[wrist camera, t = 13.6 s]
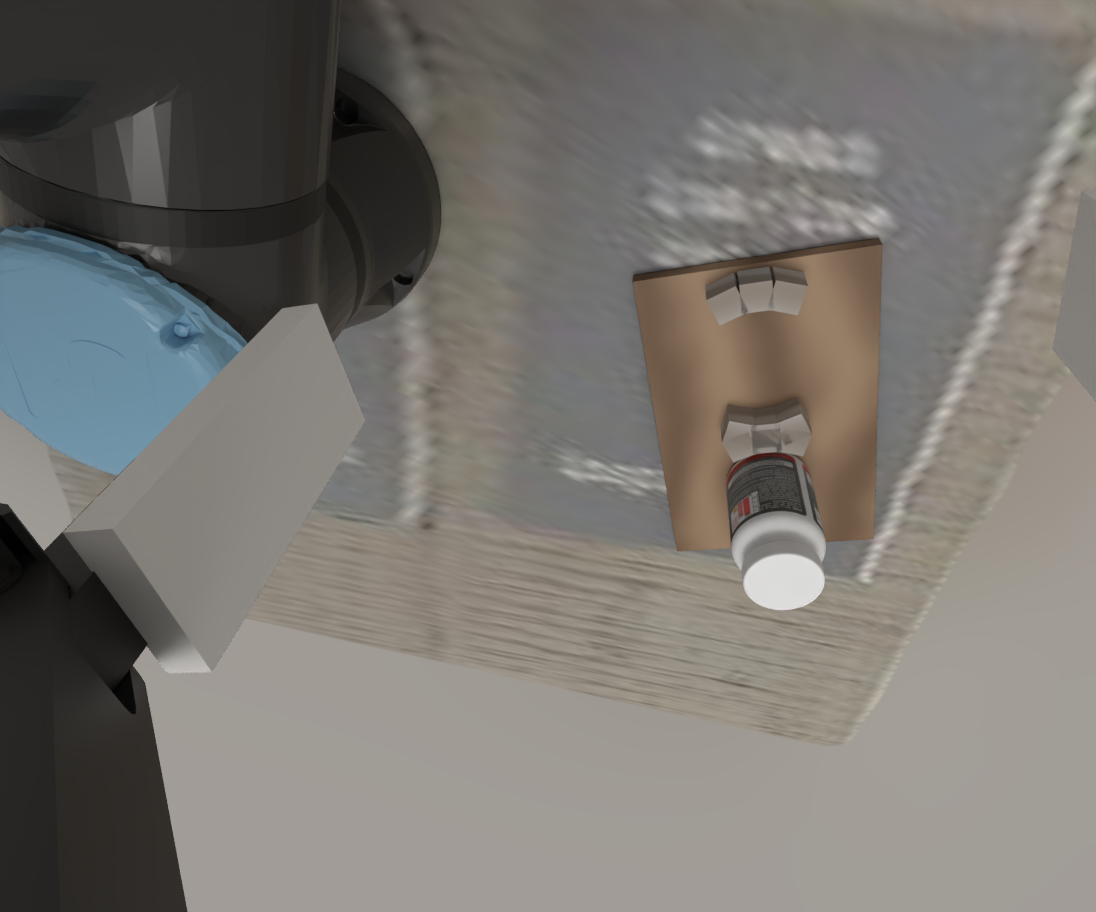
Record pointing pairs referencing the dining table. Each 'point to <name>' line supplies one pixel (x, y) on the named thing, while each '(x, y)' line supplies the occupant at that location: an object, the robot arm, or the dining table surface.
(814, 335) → the board
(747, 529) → the pill bottle
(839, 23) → the dining table surface
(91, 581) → the robot arm
